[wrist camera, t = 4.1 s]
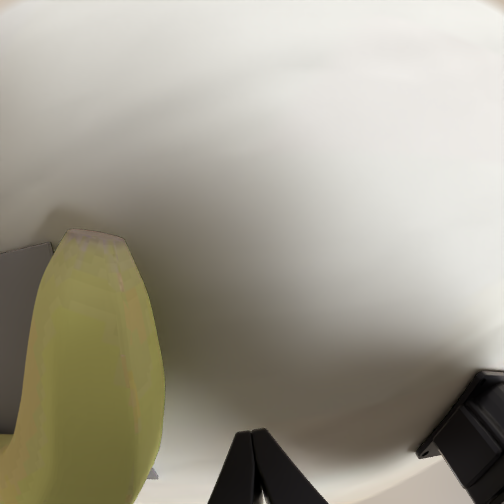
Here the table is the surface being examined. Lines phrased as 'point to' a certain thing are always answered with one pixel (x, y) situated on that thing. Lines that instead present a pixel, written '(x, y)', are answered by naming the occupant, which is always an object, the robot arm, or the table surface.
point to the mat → (19, 324)
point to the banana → (87, 382)
